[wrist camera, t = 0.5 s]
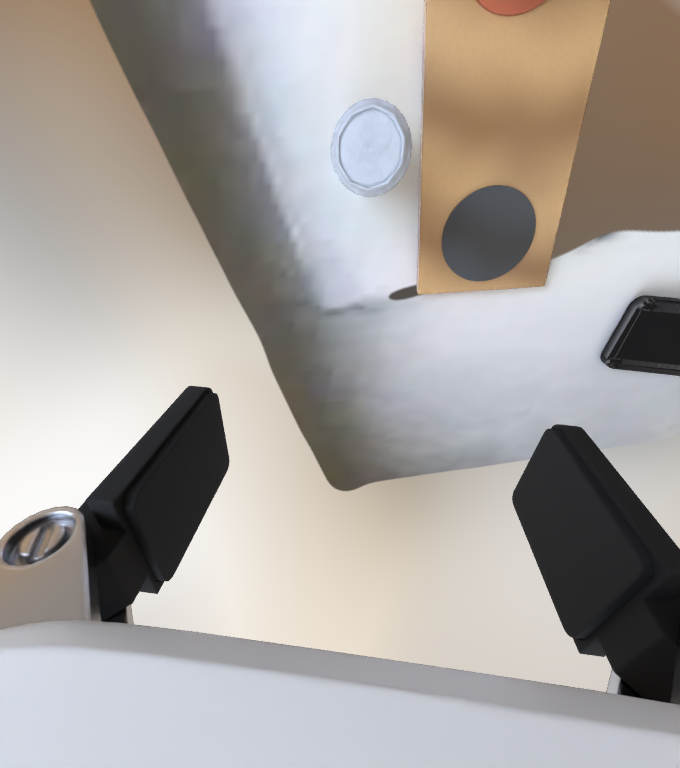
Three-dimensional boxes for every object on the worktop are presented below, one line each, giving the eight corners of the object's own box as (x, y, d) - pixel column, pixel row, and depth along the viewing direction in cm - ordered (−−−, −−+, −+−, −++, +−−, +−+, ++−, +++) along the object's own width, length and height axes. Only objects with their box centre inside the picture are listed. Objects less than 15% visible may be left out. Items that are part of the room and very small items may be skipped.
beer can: (410, 136, 28) (428, 116, 18) (387, 197, 30) (392, 210, 20) (357, 113, 27) (344, 79, 17) (339, 177, 30) (318, 180, 20)
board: (428, -171, 20) (432, -199, 18) (650, -227, 18) (675, -263, 17) (416, 290, 35) (418, 295, 33) (538, 282, 33) (546, 287, 32)
